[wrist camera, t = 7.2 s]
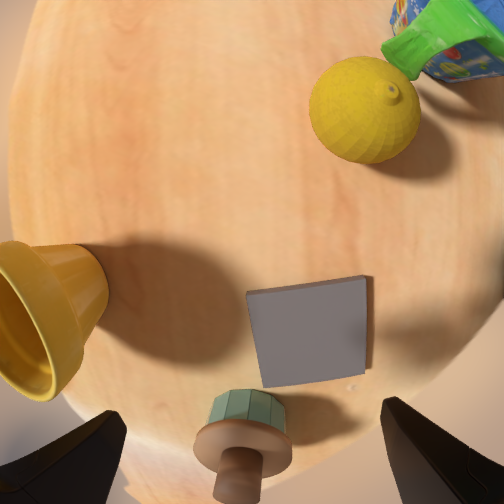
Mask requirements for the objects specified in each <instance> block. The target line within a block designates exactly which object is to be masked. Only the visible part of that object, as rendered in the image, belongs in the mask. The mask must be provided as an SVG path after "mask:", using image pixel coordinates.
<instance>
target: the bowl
mask: <svg viewBox="0 0 504 504" xmlns="http://www.w3.org/2000/svg"><path fill="white" fill-rule="evenodd" d="M226 419H246V420H253V421H258V422H262V423H265V424H268V425H271V426H273V427H275V428H277V429H279V430H280V431H282V432H283V433H284V434H286V416H285V409H284V406H283V405H282V404H281V403H280V402H279V401H277V400H276V399H275V398H274V397H273V396H271V395H269V394H266V393H263V392H259V391H256V390H253V389H252V390H251V389H245V390H231V391H228V392H226V393H224V394H222V395H220V396H218V397H216V398H215V400H214V402H213V404H212V406H211V409H210V411H209V415H208V418H207V422H206V425H208V424H210V423H212V422H215V421H220V420H226ZM206 425H205V426H206Z"/></svg>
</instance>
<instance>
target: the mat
mask: <svg viewBox="0 0 504 504" xmlns="http://www.w3.org/2000/svg"><path fill="white" fill-rule="evenodd" d="M246 299H247V304H248V310H249V315H250V320H251V326H252V331H253V336H254V342H255V347H256V352H257V357H258V363H259V368H260V373H261V378H262V383H263V388H271V387H281V386H291V385H299V384H307V383H314V382H321V381H328V380H334V379H340V378H345V377H351V376H356V375H361V374H365V363H366V335H367V295H366V278H365V277H364V276H363V275H359V276H353V277H347V278H340V279H334V280H327V281H320V282H313V283H306V284H299V285H292V286H285V287H277V288H269V289H262V290H254V291H247V294H246Z"/></svg>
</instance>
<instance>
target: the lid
mask: <svg viewBox="0 0 504 504" xmlns="http://www.w3.org/2000/svg"><path fill="white" fill-rule="evenodd" d="M193 451H194V454H195V456H196V458H197V459H198V460H199V462H200V463H201V464H203V465H204V466H205V467H207V468H208V469H210V470H212V471H214V472H216V473H217V477H216V482H215V486H214V491H213V497H214V498H215V499H216V500H217V501H219V502H221V503H224V504H257V503H258V502H259V501H260V492H261V480H262V478H267V477H271V476H274V475H277V474H279V473H281V472H282V471H284V470H285V469H286V468H288V466H289V465H290V464H291V462H292V444H291V441H290V439H289V438H288V437H287V435H286V434H284V433H283V432H282V431H280V430H279V429H277V428H275V427H273V426H271V425H268V424H265V423H262V422H258V421H253V420H246V419H226V420H220V421H215V422H212V423H210V424H208V425H206V426H204V427H203V428H202V429H201V430H200V431H199V432H198V434H197V436H196V440H195V443H194V446H193Z"/></svg>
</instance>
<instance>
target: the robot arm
mask: <svg viewBox="0 0 504 504" xmlns="http://www.w3.org/2000/svg"><path fill="white" fill-rule="evenodd" d="M380 420H381V426H382V430H383V435H384V440H385V444H386V450H387V455H388V459H389V462H390V466H391V468H392V472H393V475H394V477H395V481H396V484H397V487H398V490H399V493H400V496H401V499H402V503H403V504H504V466H502V465H500V464H498V463H496V462H494V461H492V460H490V459H488V458H486V457H485V456H483V455H481V454H480V453H478V452H477V451H475V450H474V449H472V448H469V446H467V445H466V444H464V443H463V442H461V441H459V440H458V439H457V438H455V437H454V436H452V435H451V434H449V433H448V432H447V431H445V430H444V429H442V428H441V427H439V426H438V425H436V424H435V423H433V422H432V421H430V420H429V419H428V418H426V417H425V416H423V415H422V414H421V413H419V412H417V411H416V410H415V409H413V408H412V407H411V406H409V405H408V404H406V403H405V402H404V401H402V400H401V399H399V398H398V397H396V396H394V397H390V398H386V399H384V400H383V403H382V409H381V415H380ZM126 433H127V427H126V425H125V423H124V422H123V420H122V418H121V416H120V415H119V413H118V412H116V411H112V410H106V411H105V412H103V413H101V414H100V415H98V416H96V417H95V418H93V419H91V420H90V421H88V422H86V423H85V424H83V425H81V426H79V427H78V428H76V429H74V430H72V431H71V432H69V433H68V434H65V435H64V436H62V437H60V438H58V439H57V440H55V441H53V442H51V443H49V444H47V445H46V446H44V447H42V448H40V449H39V450H37V451H34V452H33V453H31V454H29V455H27V456H24V457H22V458H20V459H18V460H15V461H13V462H10V463H8V464H5V465H2V466H0V504H106V501H107V498H108V495H109V492H110V489H111V486H112V483H113V480H114V477H115V474H116V471H117V468H118V465H119V462H120V458H121V454H122V450H123V445H124V441H125V437H126Z"/></svg>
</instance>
